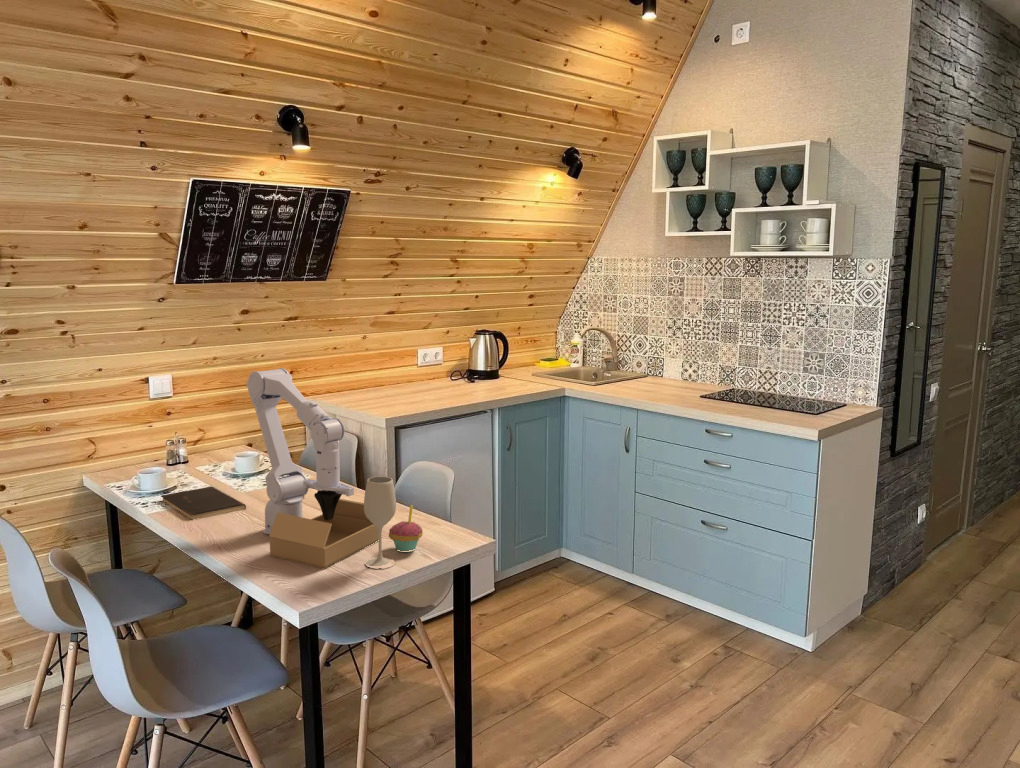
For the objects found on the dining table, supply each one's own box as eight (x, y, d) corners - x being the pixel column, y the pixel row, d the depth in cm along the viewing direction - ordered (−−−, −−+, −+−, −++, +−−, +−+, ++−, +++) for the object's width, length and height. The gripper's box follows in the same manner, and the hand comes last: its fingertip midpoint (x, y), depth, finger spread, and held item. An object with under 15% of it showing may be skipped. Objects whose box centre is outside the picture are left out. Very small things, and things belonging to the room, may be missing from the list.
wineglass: (373, 572, 183) (373, 485, 180) (358, 562, 189) (358, 478, 186) (401, 565, 188) (402, 480, 185) (386, 555, 194) (386, 473, 191)
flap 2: (320, 496, 207) (321, 495, 207) (328, 512, 211) (329, 510, 211) (372, 506, 200) (373, 504, 200) (379, 522, 203) (380, 520, 204)
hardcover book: (190, 522, 217) (190, 514, 216) (161, 502, 233) (160, 495, 233) (246, 511, 227) (245, 503, 227) (214, 493, 244) (213, 486, 244)
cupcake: (406, 541, 204) (406, 497, 202) (429, 549, 199) (430, 503, 197) (381, 550, 198) (381, 504, 196) (405, 558, 192) (405, 511, 190)
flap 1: (332, 523, 186) (330, 523, 185) (324, 548, 184) (322, 548, 183) (278, 512, 193) (277, 512, 192) (270, 536, 191) (269, 536, 191)
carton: (270, 556, 192) (269, 536, 191) (328, 529, 211) (327, 512, 211) (325, 569, 185) (324, 548, 184) (379, 540, 204) (379, 522, 203)
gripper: (294, 466, 195) (295, 518, 197) (341, 474, 189) (341, 528, 191) (313, 460, 201) (314, 511, 204) (358, 468, 195) (359, 520, 197)
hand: (328, 519), depth 198 cm, fingers closed
